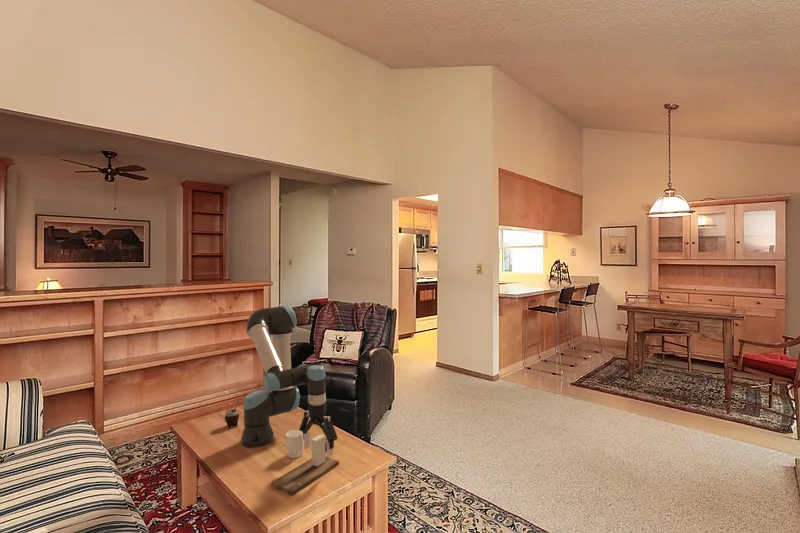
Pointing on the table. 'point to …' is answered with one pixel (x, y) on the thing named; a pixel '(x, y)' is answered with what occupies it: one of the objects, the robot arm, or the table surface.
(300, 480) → the board
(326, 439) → the video game controller
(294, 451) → the white cup
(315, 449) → the fader knob
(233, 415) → the mate gourd
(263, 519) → the table surface
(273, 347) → the robot arm
